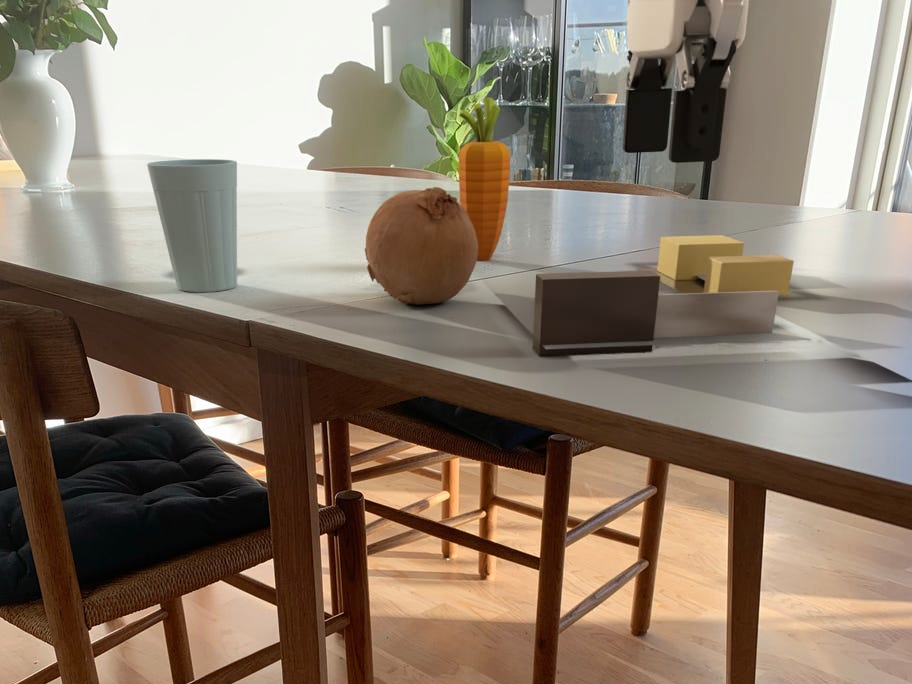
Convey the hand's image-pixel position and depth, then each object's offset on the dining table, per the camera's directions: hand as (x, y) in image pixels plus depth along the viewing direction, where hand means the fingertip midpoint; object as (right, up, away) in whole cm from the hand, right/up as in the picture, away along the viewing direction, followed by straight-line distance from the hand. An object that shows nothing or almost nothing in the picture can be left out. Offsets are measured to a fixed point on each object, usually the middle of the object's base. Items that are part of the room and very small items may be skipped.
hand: (667, 156), depth 65 cm
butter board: (+9, -3, +18) cm, 20 cm away
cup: (-37, -1, +23) cm, 44 cm away
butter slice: (+10, -5, +13) cm, 17 cm away
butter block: (+8, 0, +22) cm, 23 cm away
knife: (-1, -13, +1) cm, 13 cm away
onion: (-17, -4, +16) cm, 24 cm away
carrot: (-11, +4, +31) cm, 33 cm away
